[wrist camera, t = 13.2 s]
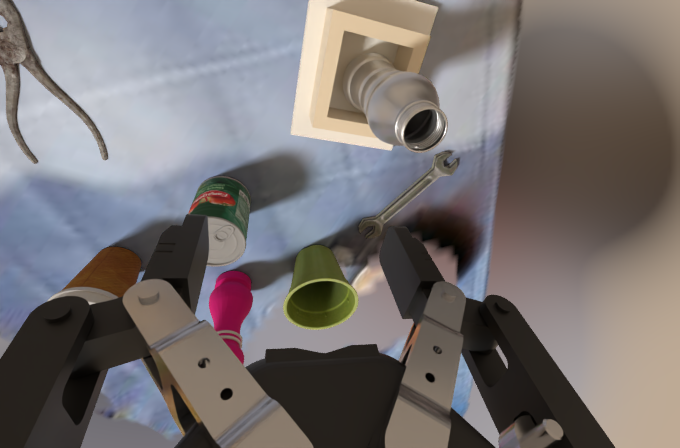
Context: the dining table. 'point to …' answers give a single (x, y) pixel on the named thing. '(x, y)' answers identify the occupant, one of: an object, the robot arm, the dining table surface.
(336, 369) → the robot arm
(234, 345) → the pepper mill
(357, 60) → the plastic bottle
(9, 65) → the pliers
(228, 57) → the dining table surface
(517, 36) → the dining table surface
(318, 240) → the dining table surface
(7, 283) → the dining table surface
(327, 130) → the housing
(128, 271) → the disposable coffee cup
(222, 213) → the canned tomato
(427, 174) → the wrench
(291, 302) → the plant pot
